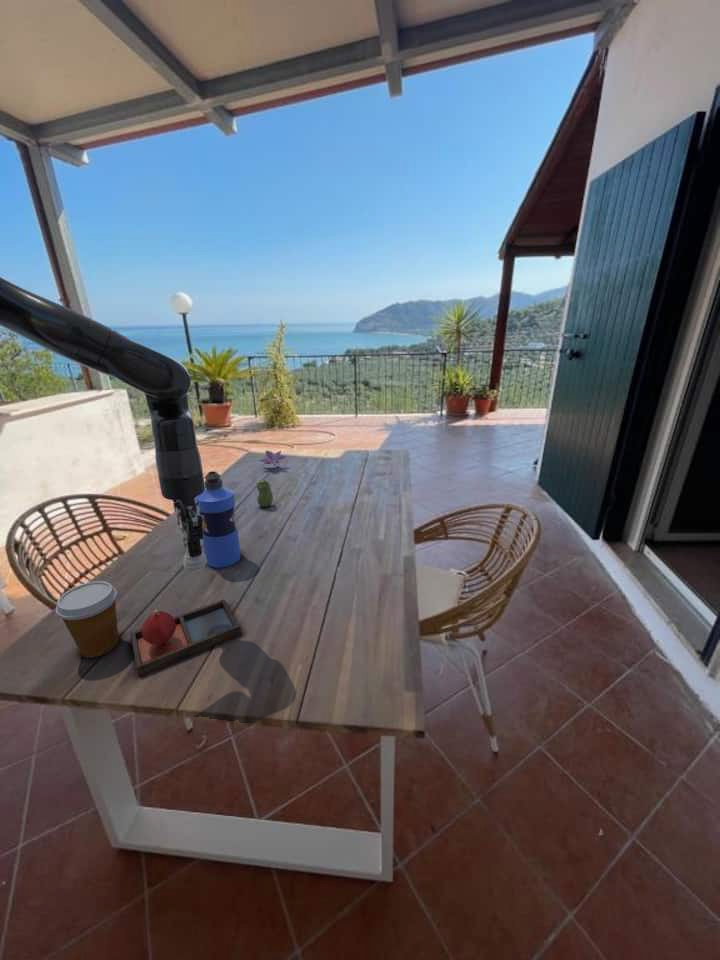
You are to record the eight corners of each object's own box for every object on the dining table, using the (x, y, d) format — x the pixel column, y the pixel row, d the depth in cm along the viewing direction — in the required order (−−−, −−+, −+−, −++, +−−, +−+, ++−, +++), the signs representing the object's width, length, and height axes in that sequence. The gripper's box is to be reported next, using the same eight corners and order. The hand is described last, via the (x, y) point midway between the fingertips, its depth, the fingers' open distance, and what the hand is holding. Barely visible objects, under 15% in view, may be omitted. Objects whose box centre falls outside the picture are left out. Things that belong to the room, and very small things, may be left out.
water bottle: (207, 571, 101) (193, 481, 92) (204, 554, 109) (191, 469, 100) (243, 563, 105) (233, 475, 96) (238, 547, 112) (228, 465, 104)
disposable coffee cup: (97, 669, 71) (81, 616, 67) (58, 657, 73) (40, 605, 69) (138, 634, 79) (127, 584, 75) (102, 624, 82) (89, 576, 78)
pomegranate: (139, 646, 75) (131, 612, 72) (168, 629, 80) (161, 596, 77) (156, 659, 72) (148, 624, 69) (184, 641, 77) (178, 607, 74)
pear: (267, 510, 136) (265, 483, 133) (254, 508, 138) (252, 481, 135) (276, 504, 141) (274, 478, 138) (263, 502, 143) (261, 476, 140)
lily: (292, 469, 182) (286, 449, 183) (285, 466, 171) (279, 446, 171) (268, 476, 183) (262, 457, 184) (259, 475, 172) (253, 454, 172)
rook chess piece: (196, 556, 81) (190, 522, 79) (212, 561, 80) (207, 527, 77) (178, 567, 78) (172, 531, 75) (194, 573, 76) (189, 536, 73)
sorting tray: (139, 676, 69) (136, 667, 69) (132, 640, 78) (129, 632, 77) (241, 634, 79) (240, 626, 79) (225, 606, 88) (224, 598, 87)
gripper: (151, 463, 75) (166, 542, 81) (165, 485, 64) (181, 574, 70) (192, 457, 79) (203, 532, 85) (212, 476, 68) (223, 561, 74)
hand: (193, 551), depth 78 cm, fingers closed on rook chess piece, 3 cm apart
